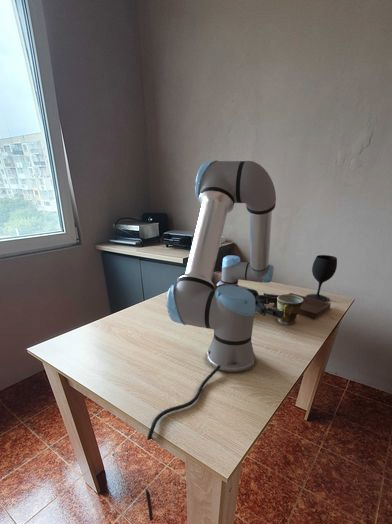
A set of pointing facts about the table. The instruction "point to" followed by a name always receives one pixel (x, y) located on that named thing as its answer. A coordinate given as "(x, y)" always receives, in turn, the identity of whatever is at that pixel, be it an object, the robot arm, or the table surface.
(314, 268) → the wine glass
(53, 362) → the table surface
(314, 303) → the tray
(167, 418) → the table surface
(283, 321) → the ceramic cup
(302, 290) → the table surface
